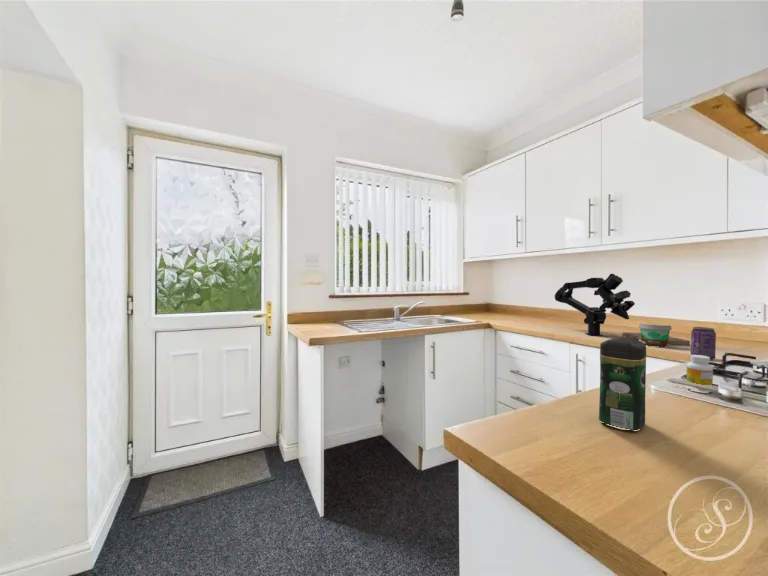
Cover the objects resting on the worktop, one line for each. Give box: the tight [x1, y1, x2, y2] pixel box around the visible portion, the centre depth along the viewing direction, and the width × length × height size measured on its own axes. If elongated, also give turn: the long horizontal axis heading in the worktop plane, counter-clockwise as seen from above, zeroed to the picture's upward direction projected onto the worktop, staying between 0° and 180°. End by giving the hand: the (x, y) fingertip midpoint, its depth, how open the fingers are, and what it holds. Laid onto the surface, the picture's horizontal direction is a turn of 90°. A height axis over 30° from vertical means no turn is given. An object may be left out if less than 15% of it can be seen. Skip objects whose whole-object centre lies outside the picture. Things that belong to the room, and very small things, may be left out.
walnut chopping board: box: [621, 331, 691, 346], centre depth 174 cm, size 24×16×2 cm, turn 176°
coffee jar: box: [598, 336, 647, 430], centre depth 73 cm, size 10×8×19 cm
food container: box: [638, 323, 672, 348], centre depth 159 cm, size 12×6×10 cm, turn 62°
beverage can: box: [690, 326, 717, 361], centre depth 135 cm, size 7×7×12 cm
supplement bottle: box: [686, 354, 714, 385], centre depth 95 cm, size 5×5×10 cm
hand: (628, 318), depth 171 cm, fingers closed
